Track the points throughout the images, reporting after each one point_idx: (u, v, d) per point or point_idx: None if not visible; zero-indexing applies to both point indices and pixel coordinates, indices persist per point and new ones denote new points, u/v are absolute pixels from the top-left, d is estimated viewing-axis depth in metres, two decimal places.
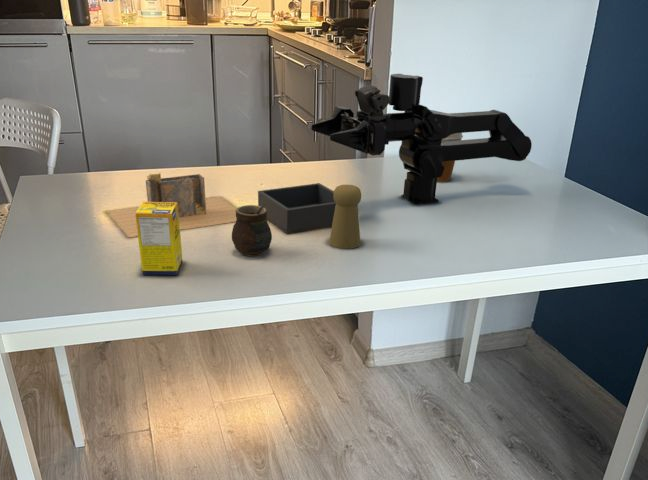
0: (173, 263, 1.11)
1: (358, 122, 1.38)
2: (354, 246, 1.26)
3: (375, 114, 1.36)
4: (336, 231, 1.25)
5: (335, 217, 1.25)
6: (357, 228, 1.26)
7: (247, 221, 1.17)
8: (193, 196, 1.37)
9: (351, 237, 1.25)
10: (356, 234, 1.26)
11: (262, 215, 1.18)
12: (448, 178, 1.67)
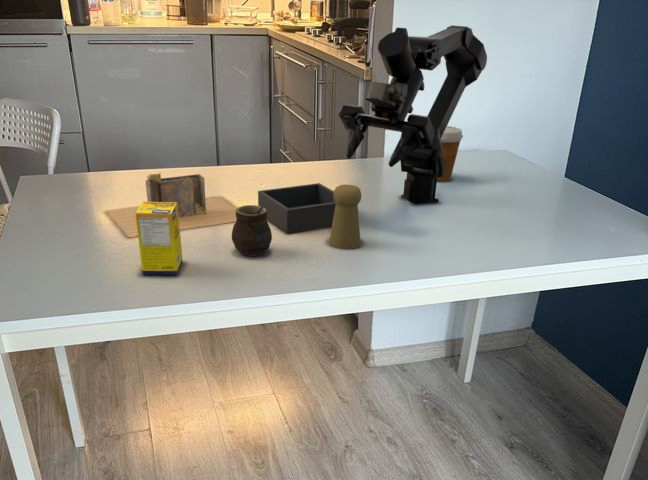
0: (173, 263, 1.11)
1: (384, 119, 1.28)
2: (354, 246, 1.26)
3: (399, 104, 1.25)
4: (336, 231, 1.25)
5: (335, 217, 1.25)
6: (357, 228, 1.26)
7: (247, 221, 1.17)
8: (193, 196, 1.37)
9: (351, 236, 1.25)
10: (356, 234, 1.26)
11: (262, 215, 1.18)
12: (448, 178, 1.67)
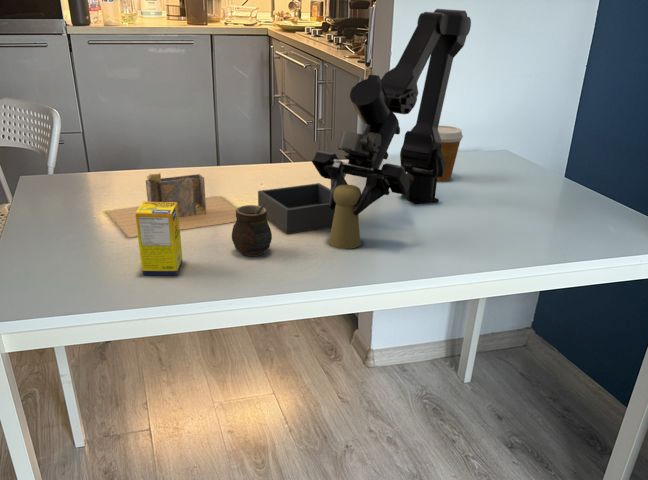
0: (173, 263, 1.11)
1: (367, 169, 1.23)
2: (354, 246, 1.26)
3: (372, 153, 1.22)
4: (336, 231, 1.25)
5: (335, 217, 1.25)
6: (357, 228, 1.26)
7: (247, 221, 1.17)
8: (193, 196, 1.37)
9: (351, 237, 1.25)
10: (356, 234, 1.26)
11: (262, 215, 1.18)
12: (448, 178, 1.67)
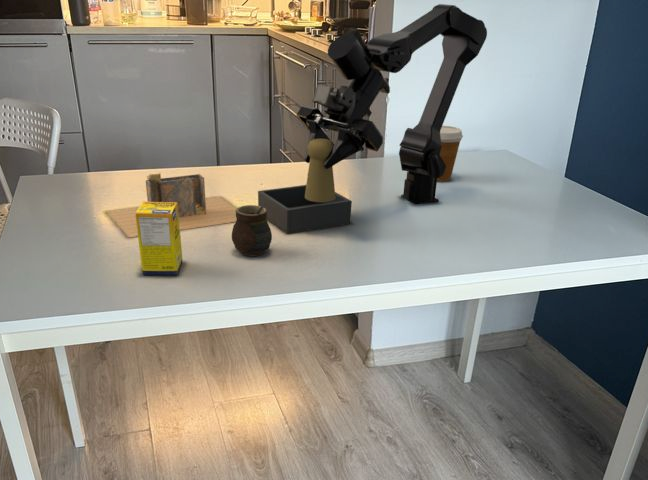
0: (173, 263, 1.11)
1: (342, 124, 1.25)
2: (325, 200, 1.28)
3: (347, 107, 1.23)
4: (308, 184, 1.28)
5: (308, 170, 1.28)
6: (329, 182, 1.27)
7: (247, 221, 1.17)
8: (193, 196, 1.37)
9: (322, 190, 1.27)
10: (328, 189, 1.28)
11: (262, 215, 1.18)
12: (448, 178, 1.67)
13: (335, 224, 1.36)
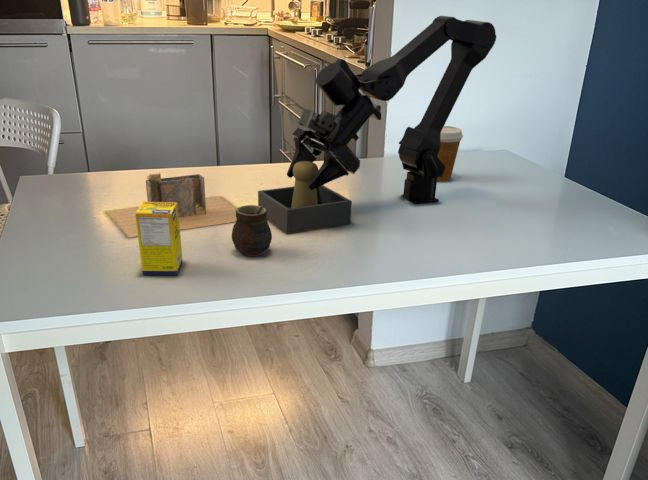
0: (173, 263, 1.11)
1: (321, 144, 1.34)
2: None
3: (329, 131, 1.31)
4: (292, 203, 1.37)
5: (294, 189, 1.37)
6: (311, 203, 1.36)
7: (247, 221, 1.17)
8: (193, 196, 1.37)
9: None
10: None
11: (262, 215, 1.18)
12: (448, 178, 1.67)
13: (335, 224, 1.36)
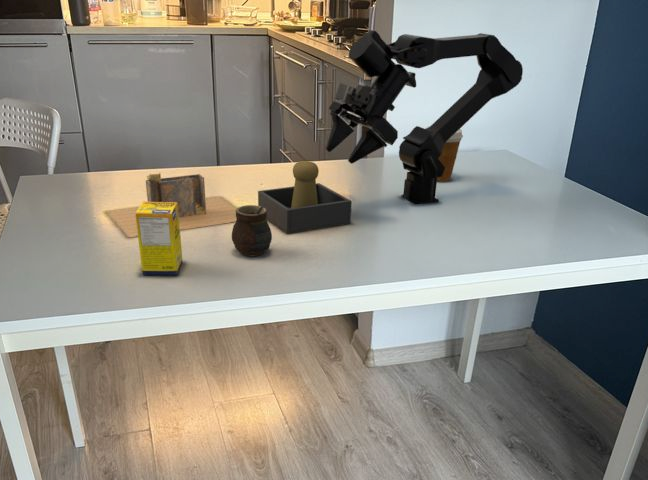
0: (173, 263, 1.11)
1: (358, 117, 1.36)
2: None
3: (366, 104, 1.33)
4: (292, 203, 1.37)
5: (294, 189, 1.37)
6: (311, 203, 1.36)
7: (247, 221, 1.17)
8: (193, 196, 1.37)
9: None
10: None
11: (262, 215, 1.18)
12: (448, 178, 1.67)
13: (335, 224, 1.36)
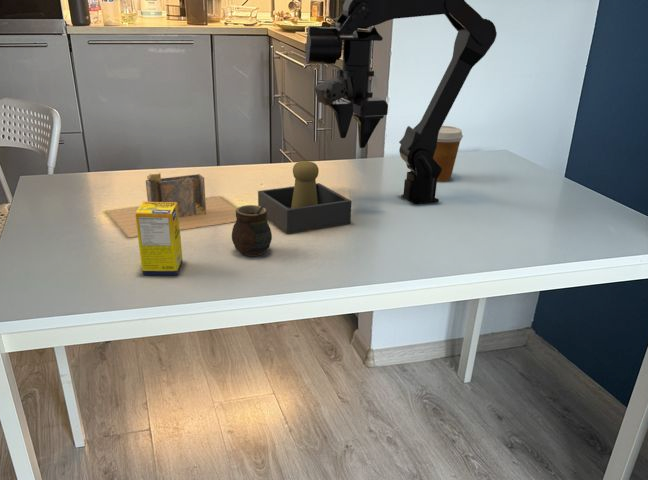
0: (173, 263, 1.11)
1: None
2: None
3: (345, 92, 1.35)
4: (292, 203, 1.37)
5: (294, 189, 1.37)
6: (311, 203, 1.36)
7: (247, 221, 1.17)
8: (193, 196, 1.37)
9: None
10: None
11: (262, 215, 1.18)
12: (448, 178, 1.67)
13: (335, 224, 1.36)
